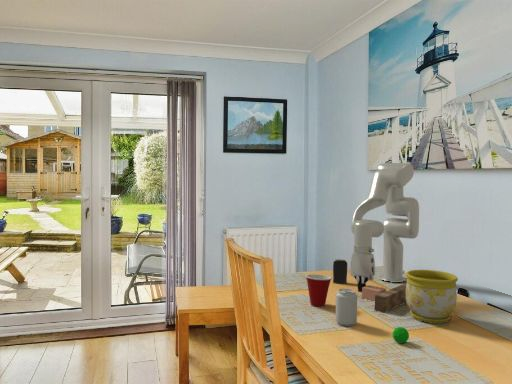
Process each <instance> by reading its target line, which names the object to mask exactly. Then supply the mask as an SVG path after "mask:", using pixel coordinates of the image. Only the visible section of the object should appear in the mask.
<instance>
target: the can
mask: <svg viewBox="0 0 512 384" xmlns="http://www.w3.org/2000/svg"><path fill="white" fill-rule="evenodd" d="M334 317H335V322H336V323H337V325H340V326H343V327H352V326H354V325H355V324H356V323H357V322H358V321H357V319H358V295H357V293H356V290H354V289H352V288H338V290H337V293H336V294H335V316H334Z"/></svg>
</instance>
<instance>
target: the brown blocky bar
mask: <svg viewBox="0 0 512 384" xmlns="http://www.w3.org/2000/svg"><path fill="white" fill-rule="evenodd" d="M406 285H407V282H404V283H403V284H401V285H399V286H395V287H392V288H391V289H388V290H387V289H386V291H385V292H382V293H380V294H377V295H375V302H374V311H375V310H376V311H375V312H379V311H380V312H379V313H383V312H385V313H387V312H388V311H387V310H389V311H391V310H393V309H395V308H397V307H399V306H398V305H400V304H402V305H404V304H405V303H406V304H407V301H406ZM403 303H404V304H403ZM396 306H397V307H396ZM400 306H401V305H400ZM394 307H395V308H394ZM392 308H393V309H392ZM390 309H391V310H390ZM386 311H387V312H386Z"/></svg>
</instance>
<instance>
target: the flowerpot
mask: <svg viewBox="0 0 512 384" xmlns="http://www.w3.org/2000/svg"><path fill="white" fill-rule="evenodd" d="M405 276H406V278H407V279H406V283H407V285H406V301H407V302H406V304H407V306H408V307H409V309H410V310H409V314H410V315H411V316H412V317H413V319H415V320H417V321H419V320H421V321H420V322H423V321H424V323H427V322H428V323H429V324H444V323H447V322H448V321H449V320H450V319H451V317H452V316H451V314H452V313H453V312H454V311H455V310H454V309H456V307H457V306H456V305H457V300H458V299H457V288H456V287H457V282H458V280H459V279H458V276H457V275H455V274H453V273H449V272H445V271H441V270H434V269H433V270H432V269H412V270H408V271H405Z"/></svg>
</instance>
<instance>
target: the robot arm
mask: <svg viewBox="0 0 512 384" xmlns="http://www.w3.org/2000/svg"><path fill="white" fill-rule="evenodd" d="M414 169H415V168H414V166H413V164H412V163H408V162H384V163H380V164H379V165H378V166H377V169H376V171H375V172H374V174H373V177H372V180H371V185H370V189H369V193H368V196H367V198H366V199H365V200H363V201H362V202H361V203H360V204H359V205H358V207H356V209H355V211H354V213H353V217H352V220H351V226H350V229H351V233H352V234H353V235H354V236H353V237H354V240H353V252H352V253H351V257H350V266H349V267H350V269H349V270H350V271H349V272H350V276H351V277H352V278H354V279H355V281H356V282H357V291H358V293H362V288H363V287H365V286H367V282H368V281H373V280H374V278H375V277H374V276H376V264H375V263H376V262H375V256H374V253H373V252H375V249H374V248H373V247H372V245H373V238H380V237H381V236H382V235H383V260H382V261H383V262H382V263H383V265H382V274H381V275H380V276H379V280H380V279H381V280H380V281H382V280H384V281H383V282H385V281H390V282H389V283H392V282H402V283H404V282H403V281H405V280H406V281H407V279H406V277H403V275H404V274H406V271H405V269H403V268H404V244H403V242H402V240H401V238H402V239H411V240H413V239H417V237H418V235H419V231H420V229H419V228H420V206H419V205H420V204H419V201H418V200H417V198H415V197H409V196H408V197H406V196H404V187H405V186H406V185H408V183H410V181H412V179H413V177H414V174H415V173H414V172H415V170H414ZM384 205H385V211H386V214H387V215H390V216H395V217H388V218H386V219H384V220H383V221H382V222H381V221H379V220H372V219H365V218H364V219H363V217H364V216H365V215H366V214H367V213H369V212H370V211H372V210H375V209H377V208H380V207H383V206H384ZM396 216H397V217H398V218H397V217H396ZM399 217H406V218H399ZM406 281H405V282H406Z"/></svg>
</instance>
